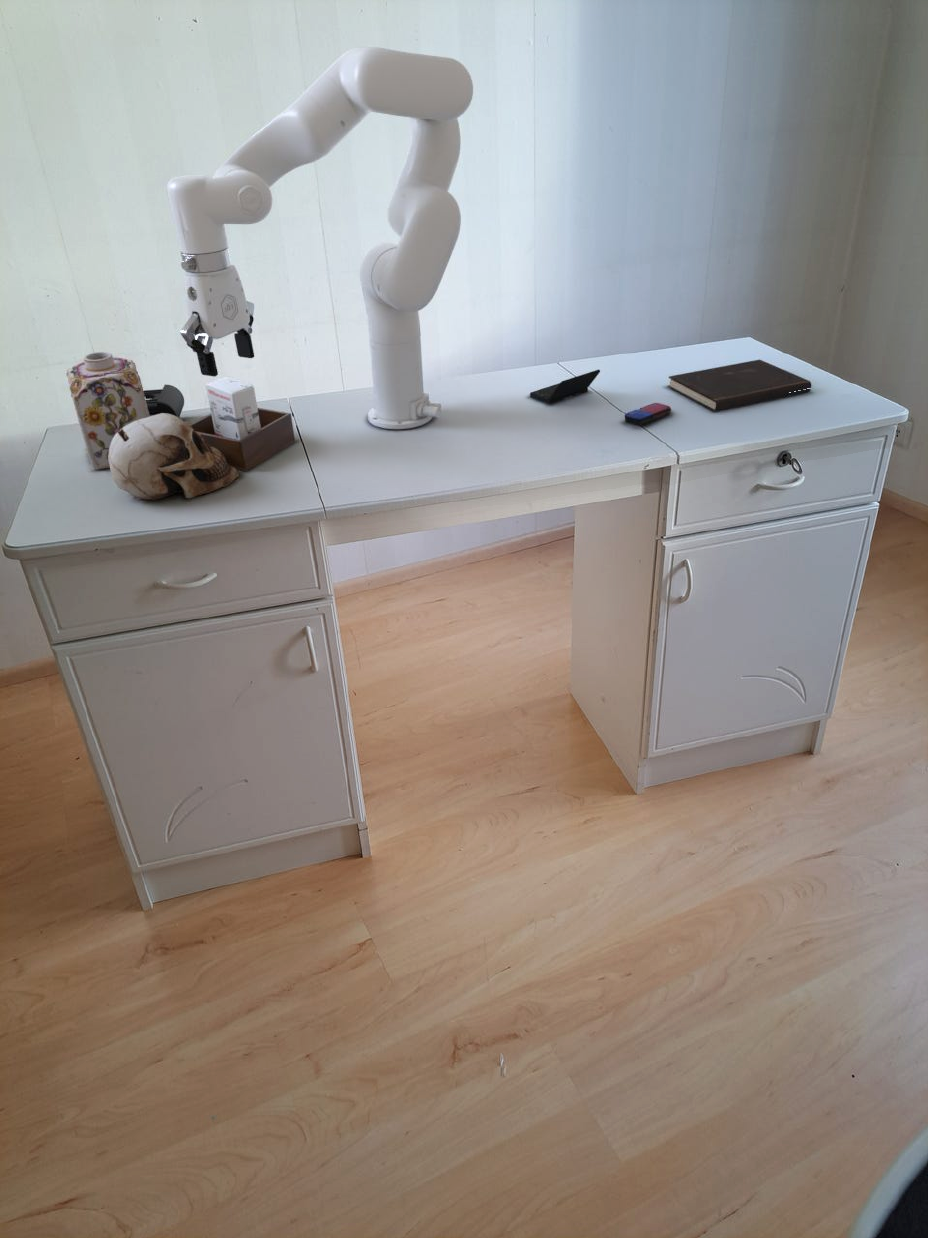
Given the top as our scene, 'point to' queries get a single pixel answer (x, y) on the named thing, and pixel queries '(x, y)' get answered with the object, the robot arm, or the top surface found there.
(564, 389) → the handheld gaming console
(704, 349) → the top surface
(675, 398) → the top surface
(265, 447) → the desk box
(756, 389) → the hardcover book
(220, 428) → the ink box
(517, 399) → the top surface
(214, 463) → the coin bank
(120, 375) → the decorative jar
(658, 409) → the eraser
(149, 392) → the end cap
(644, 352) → the top surface
